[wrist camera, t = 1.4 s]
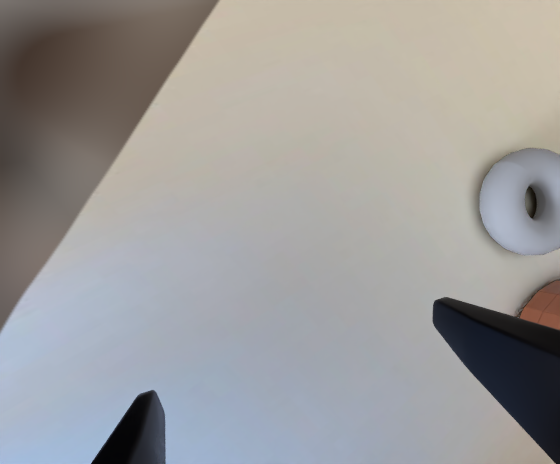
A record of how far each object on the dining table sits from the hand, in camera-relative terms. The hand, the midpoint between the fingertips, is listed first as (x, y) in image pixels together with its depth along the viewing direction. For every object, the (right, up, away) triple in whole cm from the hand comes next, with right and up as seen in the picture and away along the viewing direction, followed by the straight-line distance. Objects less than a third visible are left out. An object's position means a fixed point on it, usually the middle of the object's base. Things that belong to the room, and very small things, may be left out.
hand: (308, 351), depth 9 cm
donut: (+22, +6, +20) cm, 31 cm away
